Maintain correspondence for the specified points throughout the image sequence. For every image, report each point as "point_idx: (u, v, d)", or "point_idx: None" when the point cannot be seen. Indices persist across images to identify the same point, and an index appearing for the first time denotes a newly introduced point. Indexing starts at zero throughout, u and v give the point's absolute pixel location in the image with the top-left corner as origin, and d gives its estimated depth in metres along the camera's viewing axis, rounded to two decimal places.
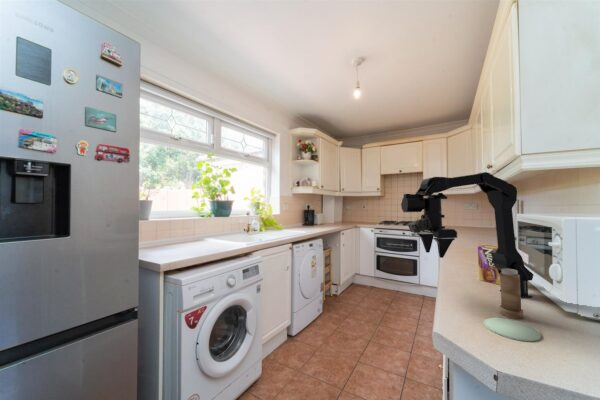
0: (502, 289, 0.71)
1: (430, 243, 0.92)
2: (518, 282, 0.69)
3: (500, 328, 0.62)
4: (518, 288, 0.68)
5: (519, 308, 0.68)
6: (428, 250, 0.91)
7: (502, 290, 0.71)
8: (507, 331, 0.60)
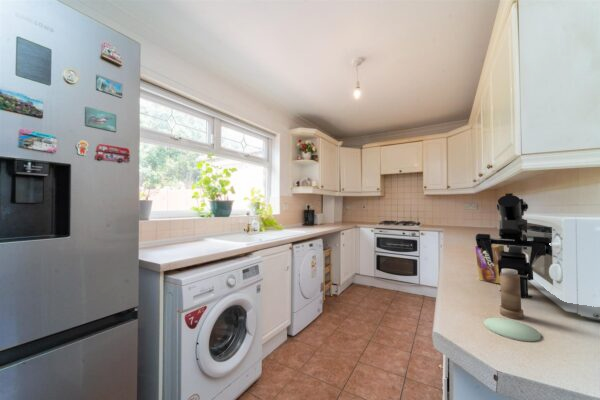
0: (502, 289, 0.71)
1: None
2: (518, 282, 0.69)
3: (500, 328, 0.62)
4: (518, 288, 0.68)
5: (519, 308, 0.68)
6: None
7: (502, 290, 0.71)
8: (507, 331, 0.60)
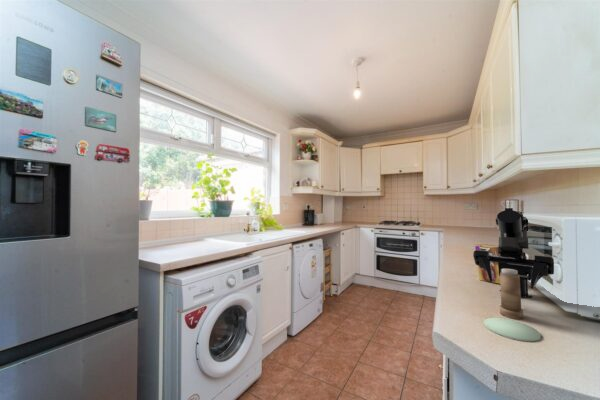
0: (502, 289, 0.71)
1: (491, 274, 0.77)
2: (518, 282, 0.69)
3: (500, 328, 0.62)
4: (518, 288, 0.68)
5: (519, 308, 0.68)
6: (491, 279, 0.75)
7: (502, 290, 0.71)
8: (507, 331, 0.60)
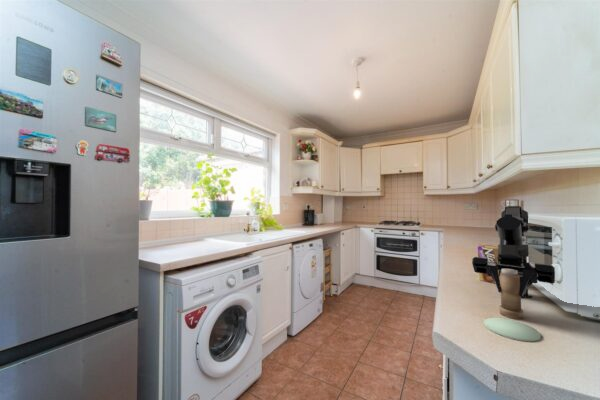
0: (502, 289, 0.71)
1: None
2: (518, 282, 0.68)
3: (500, 328, 0.62)
4: (518, 288, 0.68)
5: (519, 308, 0.68)
6: (500, 290, 0.71)
7: (502, 290, 0.71)
8: (507, 331, 0.60)
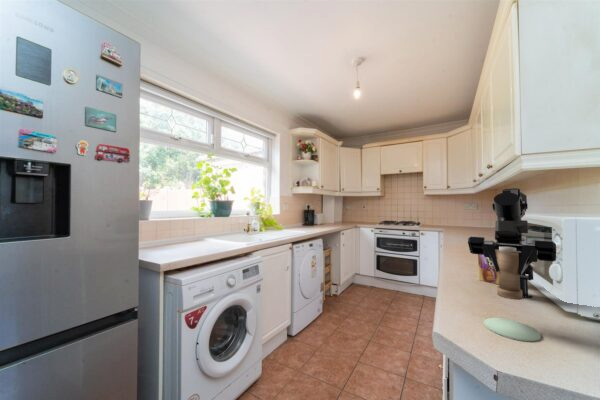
0: (500, 268, 0.66)
1: None
2: (517, 260, 0.64)
3: (500, 328, 0.62)
4: (517, 266, 0.64)
5: (518, 288, 0.63)
6: None
7: (500, 269, 0.66)
8: (507, 331, 0.60)
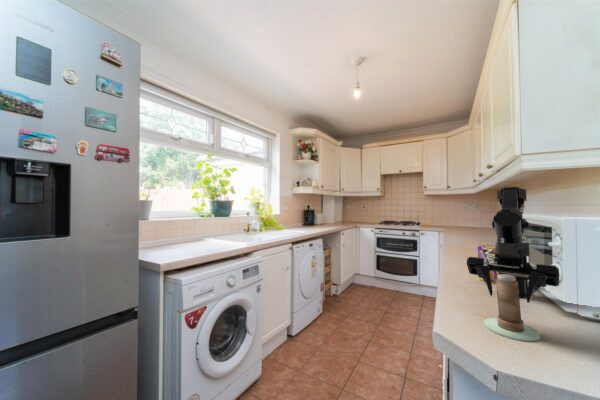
0: (499, 298, 0.63)
1: None
2: (516, 290, 0.61)
3: (500, 328, 0.62)
4: (517, 297, 0.61)
5: (519, 319, 0.61)
6: (492, 292, 0.65)
7: (499, 299, 0.63)
8: (507, 331, 0.60)
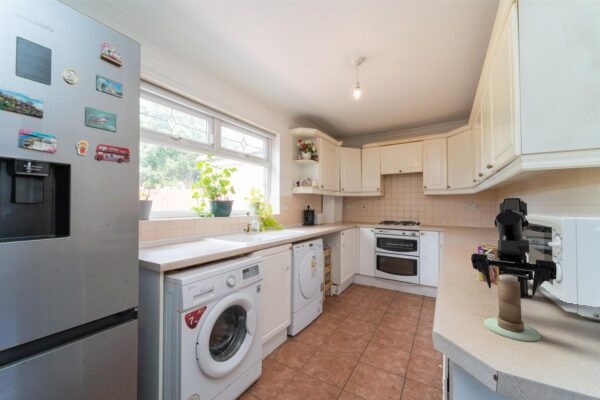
0: (500, 298, 0.63)
1: (489, 279, 0.73)
2: (518, 290, 0.61)
3: (500, 328, 0.62)
4: (518, 297, 0.61)
5: (519, 320, 0.60)
6: (490, 285, 0.71)
7: (500, 299, 0.63)
8: (507, 331, 0.60)
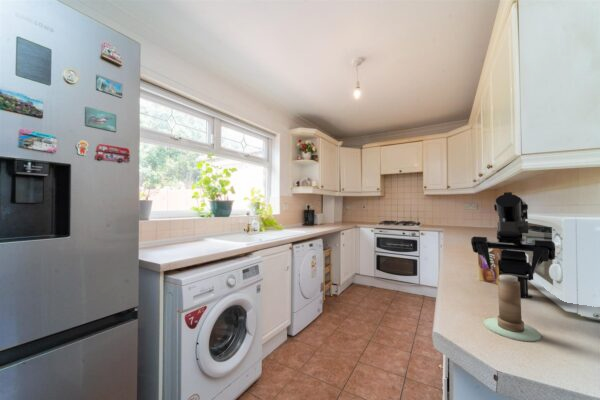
0: (500, 298, 0.63)
1: None
2: (518, 290, 0.61)
3: (500, 328, 0.62)
4: (518, 297, 0.61)
5: (519, 320, 0.60)
6: (490, 266, 0.72)
7: (500, 299, 0.63)
8: (507, 331, 0.60)
